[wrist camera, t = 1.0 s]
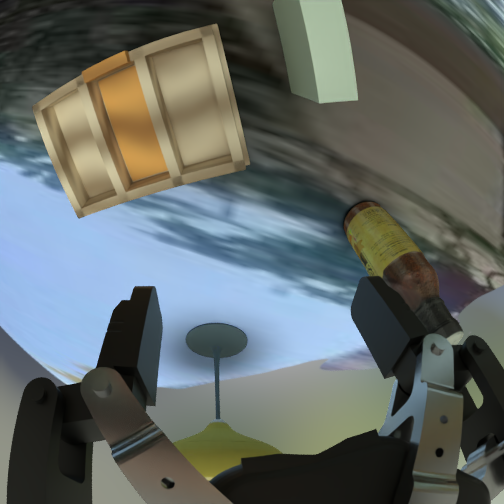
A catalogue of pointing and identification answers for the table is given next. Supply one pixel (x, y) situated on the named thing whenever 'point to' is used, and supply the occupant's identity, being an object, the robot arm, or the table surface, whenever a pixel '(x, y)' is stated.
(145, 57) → the rack
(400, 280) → the sauce bottle
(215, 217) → the table surface
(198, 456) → the cocktail glass
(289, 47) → the block
